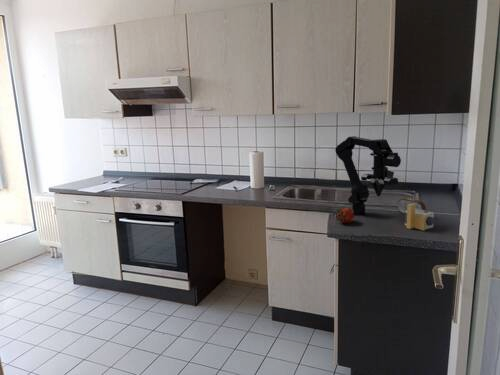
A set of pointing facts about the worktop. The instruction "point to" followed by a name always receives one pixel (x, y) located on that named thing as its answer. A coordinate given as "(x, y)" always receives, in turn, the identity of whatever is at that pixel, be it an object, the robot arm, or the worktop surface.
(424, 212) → the camera housing
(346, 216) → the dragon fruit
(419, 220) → the side door
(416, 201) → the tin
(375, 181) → the robot arm
